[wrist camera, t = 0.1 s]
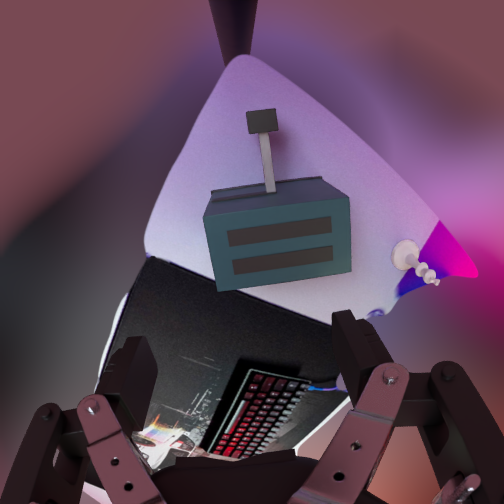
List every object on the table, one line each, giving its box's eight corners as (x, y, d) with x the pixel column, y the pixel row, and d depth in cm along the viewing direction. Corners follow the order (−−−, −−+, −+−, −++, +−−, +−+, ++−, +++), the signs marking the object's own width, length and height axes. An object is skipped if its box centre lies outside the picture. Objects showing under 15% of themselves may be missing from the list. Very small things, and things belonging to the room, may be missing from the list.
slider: (245, 113, 32) (246, 111, 30) (272, 109, 32) (275, 108, 30) (256, 190, 36) (258, 195, 33) (282, 187, 36) (286, 191, 33)
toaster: (211, 190, 40) (199, 215, 29) (320, 175, 40) (351, 194, 29) (221, 250, 43) (216, 294, 32) (325, 235, 43) (353, 273, 32)
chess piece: (395, 237, 43) (429, 264, 34) (421, 241, 44) (456, 268, 35) (387, 267, 45) (417, 299, 36) (412, 270, 46) (444, 301, 36)
